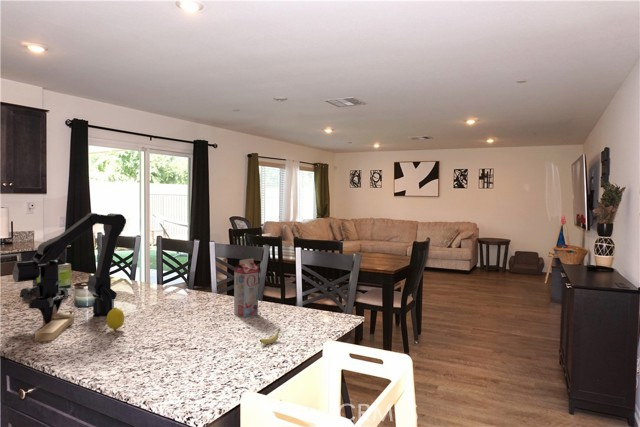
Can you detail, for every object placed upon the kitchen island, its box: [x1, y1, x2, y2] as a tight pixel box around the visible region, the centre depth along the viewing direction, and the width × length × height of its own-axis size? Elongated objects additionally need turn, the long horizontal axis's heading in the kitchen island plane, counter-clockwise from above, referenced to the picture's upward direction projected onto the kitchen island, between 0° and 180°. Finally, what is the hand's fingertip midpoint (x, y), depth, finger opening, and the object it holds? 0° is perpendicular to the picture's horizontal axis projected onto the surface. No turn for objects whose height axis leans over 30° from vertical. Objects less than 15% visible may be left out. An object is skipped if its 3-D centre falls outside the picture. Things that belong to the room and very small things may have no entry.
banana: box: [259, 327, 281, 345], centre depth 138 cm, size 8×2×4 cm, turn 137°
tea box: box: [32, 262, 72, 298], centre depth 194 cm, size 15×10×15 cm, turn 58°
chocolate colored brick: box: [42, 307, 75, 328], centre depth 152 cm, size 9×4×6 cm, turn 103°
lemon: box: [106, 307, 125, 331], centre depth 147 cm, size 6×6×8 cm
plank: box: [34, 316, 75, 342], centre depth 145 cm, size 5×20×2 cm, turn 13°
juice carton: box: [233, 258, 259, 318], centre depth 169 cm, size 7×7×22 cm
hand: (49, 321), depth 151 cm, fingers closed on chocolate colored brick, 4 cm apart
